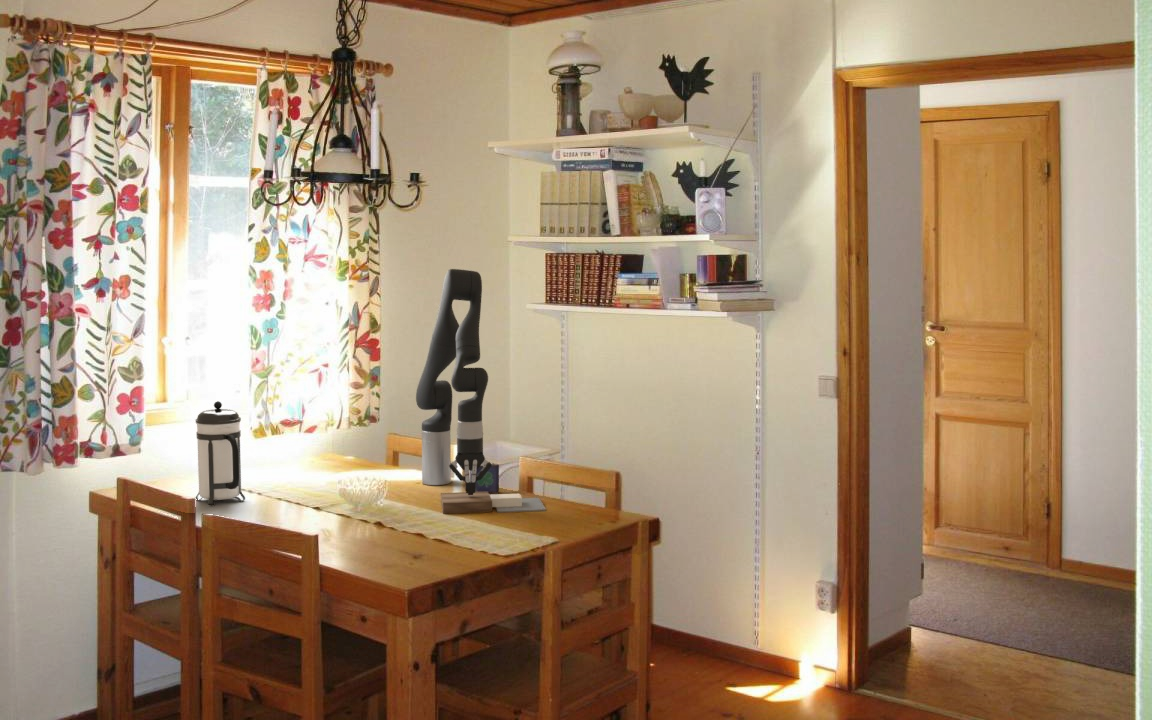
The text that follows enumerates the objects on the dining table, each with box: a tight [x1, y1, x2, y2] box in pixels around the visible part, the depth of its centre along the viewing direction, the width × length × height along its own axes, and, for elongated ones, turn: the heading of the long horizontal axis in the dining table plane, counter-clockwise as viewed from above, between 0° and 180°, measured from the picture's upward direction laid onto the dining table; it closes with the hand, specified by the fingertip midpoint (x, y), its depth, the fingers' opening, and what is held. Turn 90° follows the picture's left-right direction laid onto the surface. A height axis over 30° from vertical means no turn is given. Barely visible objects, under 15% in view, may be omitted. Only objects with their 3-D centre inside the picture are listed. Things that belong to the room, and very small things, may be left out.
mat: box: [495, 497, 547, 513], centre depth 324 cm, size 16×14×1 cm
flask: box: [469, 458, 500, 495], centre depth 341 cm, size 9×3×11 cm, turn 109°
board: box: [440, 491, 493, 514], centre depth 322 cm, size 14×14×3 cm
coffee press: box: [194, 401, 246, 506], centre depth 327 cm, size 17×16×30 cm
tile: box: [489, 493, 523, 508], centre depth 323 cm, size 6×9×2 cm, turn 100°
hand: (470, 494), depth 322 cm, fingers closed
